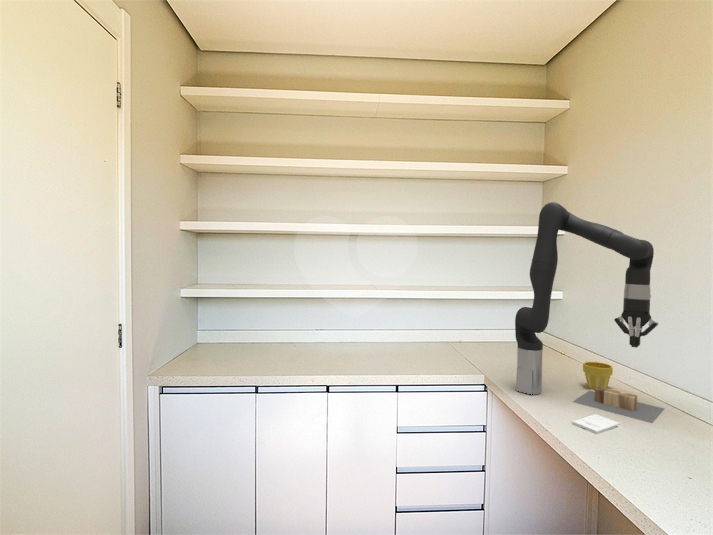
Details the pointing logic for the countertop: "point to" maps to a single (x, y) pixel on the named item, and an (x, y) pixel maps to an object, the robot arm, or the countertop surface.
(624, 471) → the countertop surface
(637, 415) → the mat
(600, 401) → the block
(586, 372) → the plant pot
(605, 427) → the external hard drive
